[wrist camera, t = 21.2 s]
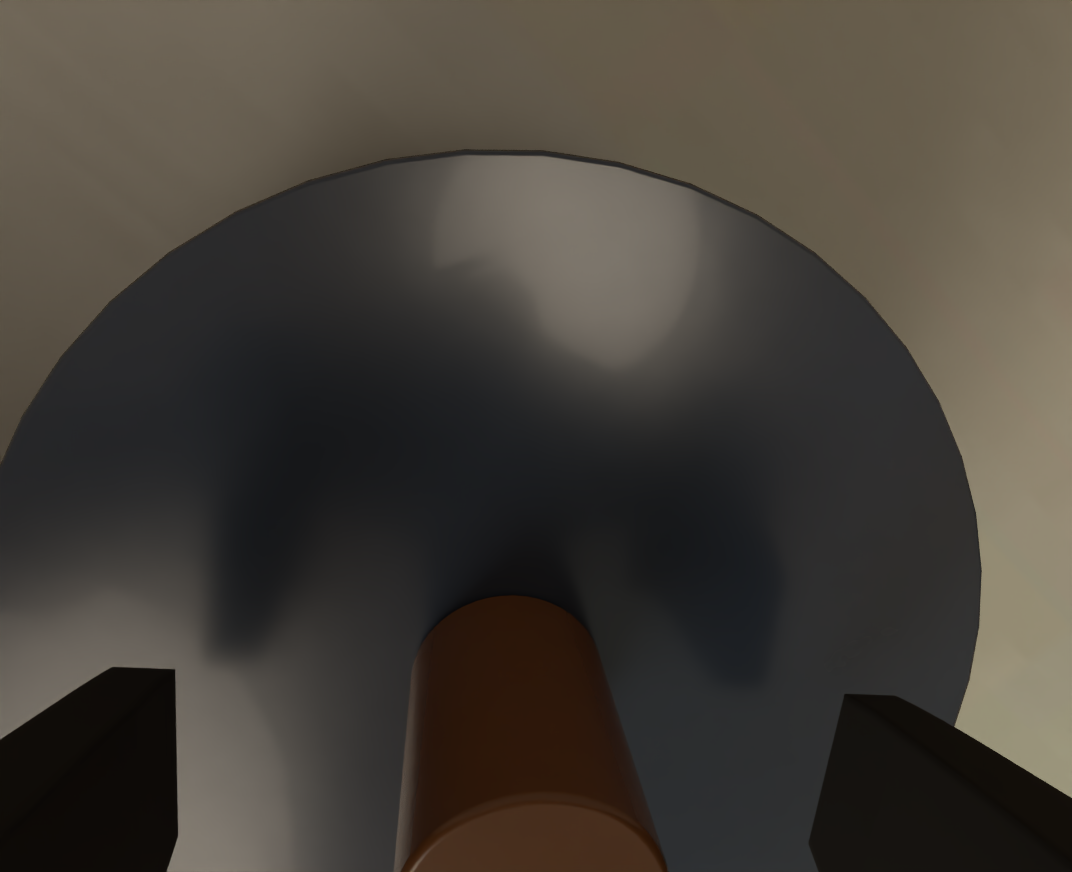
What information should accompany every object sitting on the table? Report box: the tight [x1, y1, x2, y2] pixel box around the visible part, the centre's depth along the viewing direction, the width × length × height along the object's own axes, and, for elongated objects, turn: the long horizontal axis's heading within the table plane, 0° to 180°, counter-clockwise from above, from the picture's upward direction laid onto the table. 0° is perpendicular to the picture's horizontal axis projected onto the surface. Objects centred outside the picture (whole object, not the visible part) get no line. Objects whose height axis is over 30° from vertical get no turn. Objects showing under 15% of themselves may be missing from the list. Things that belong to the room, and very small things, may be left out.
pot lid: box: [0, 149, 982, 872], centre depth 9 cm, size 13×13×5 cm
